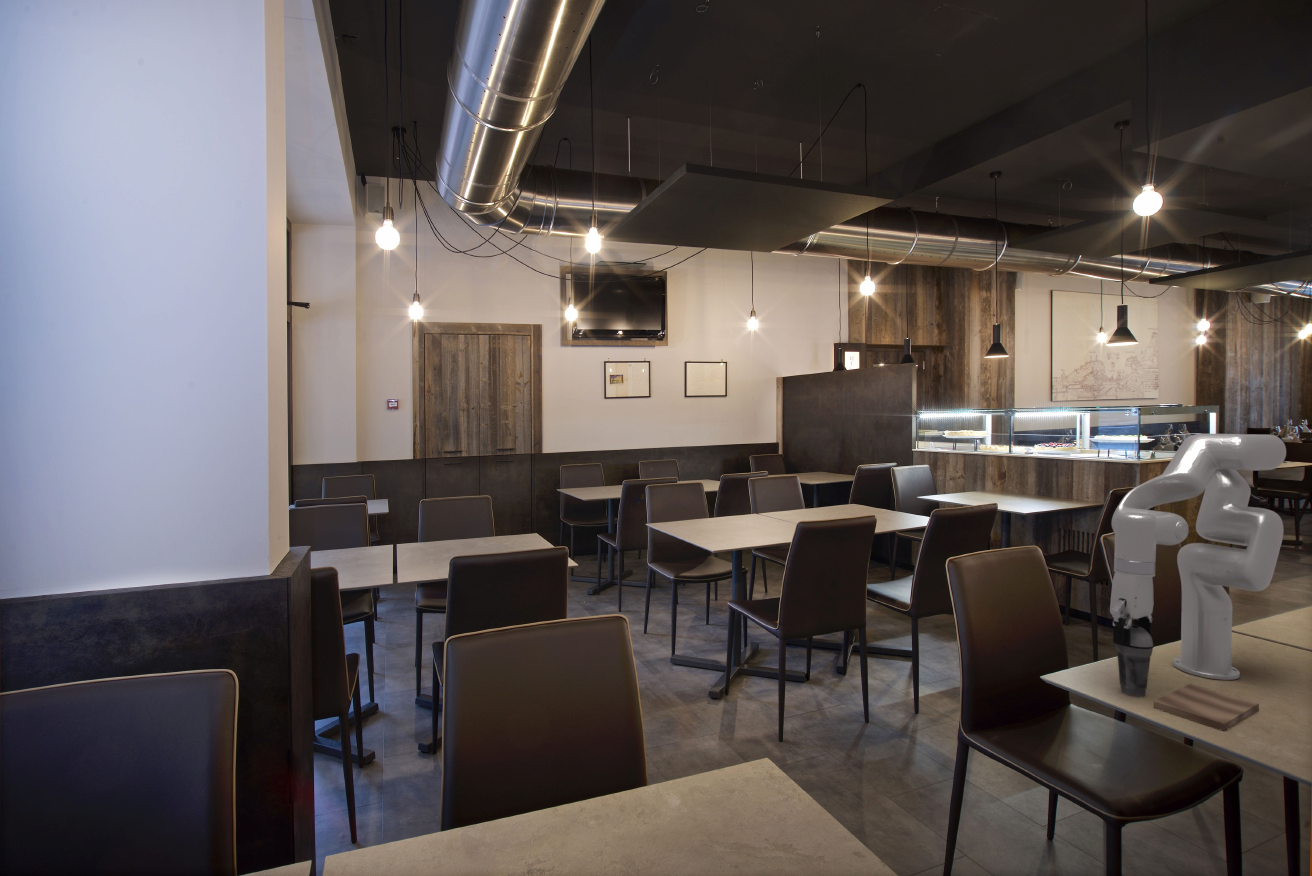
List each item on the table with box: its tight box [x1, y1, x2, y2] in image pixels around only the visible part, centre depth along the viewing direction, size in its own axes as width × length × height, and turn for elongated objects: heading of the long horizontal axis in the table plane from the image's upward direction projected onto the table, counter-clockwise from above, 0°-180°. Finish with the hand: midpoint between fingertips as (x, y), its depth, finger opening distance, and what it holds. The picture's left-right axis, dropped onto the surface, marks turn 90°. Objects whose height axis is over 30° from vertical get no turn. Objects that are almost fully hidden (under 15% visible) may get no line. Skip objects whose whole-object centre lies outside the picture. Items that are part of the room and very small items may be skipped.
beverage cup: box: [1114, 620, 1155, 698], centre depth 145 cm, size 7×7×20 cm
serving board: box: [1153, 683, 1260, 732], centre depth 137 cm, size 18×12×2 cm, turn 120°
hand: (1132, 641), depth 145 cm, fingers open, 9 cm apart
